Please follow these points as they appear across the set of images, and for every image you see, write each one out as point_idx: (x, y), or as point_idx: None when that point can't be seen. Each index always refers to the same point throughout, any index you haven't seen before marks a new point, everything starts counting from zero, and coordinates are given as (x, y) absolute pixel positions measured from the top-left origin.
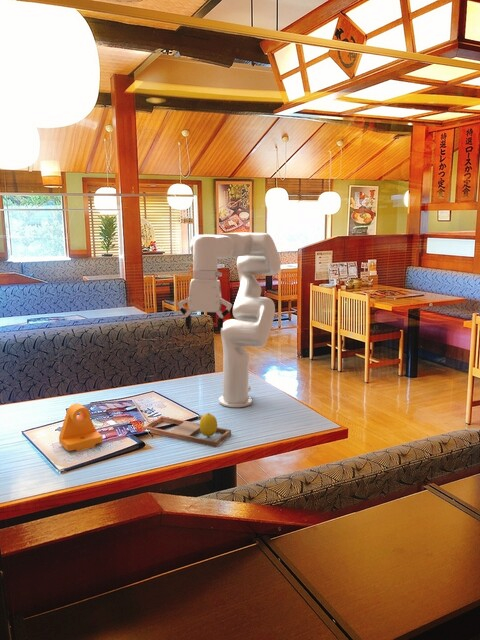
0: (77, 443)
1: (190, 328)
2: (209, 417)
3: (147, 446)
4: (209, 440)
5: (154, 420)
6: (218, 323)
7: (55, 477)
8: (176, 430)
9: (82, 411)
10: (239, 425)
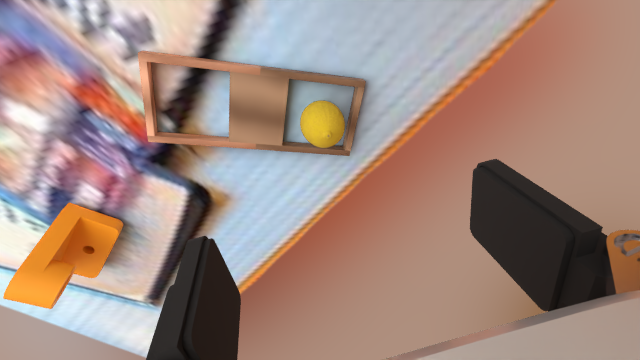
0: (102, 265)
1: (226, 267)
2: (333, 142)
3: (217, 195)
4: (334, 151)
5: (146, 93)
6: (517, 276)
7: (158, 315)
8: (241, 131)
9: (58, 294)
10: (370, 9)
